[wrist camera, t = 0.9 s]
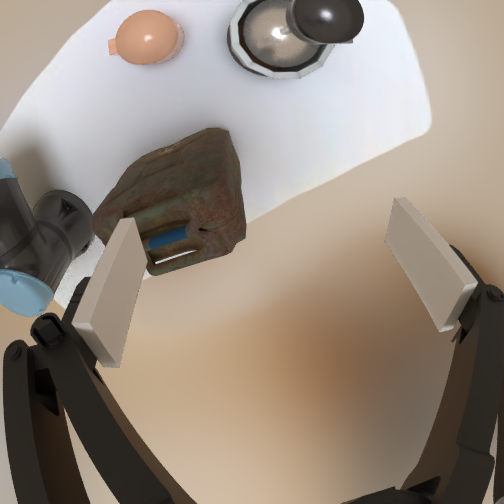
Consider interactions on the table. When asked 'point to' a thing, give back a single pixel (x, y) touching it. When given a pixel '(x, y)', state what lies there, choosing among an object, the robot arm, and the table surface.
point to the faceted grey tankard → (258, 66)
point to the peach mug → (147, 38)
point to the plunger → (299, 28)
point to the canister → (180, 202)
